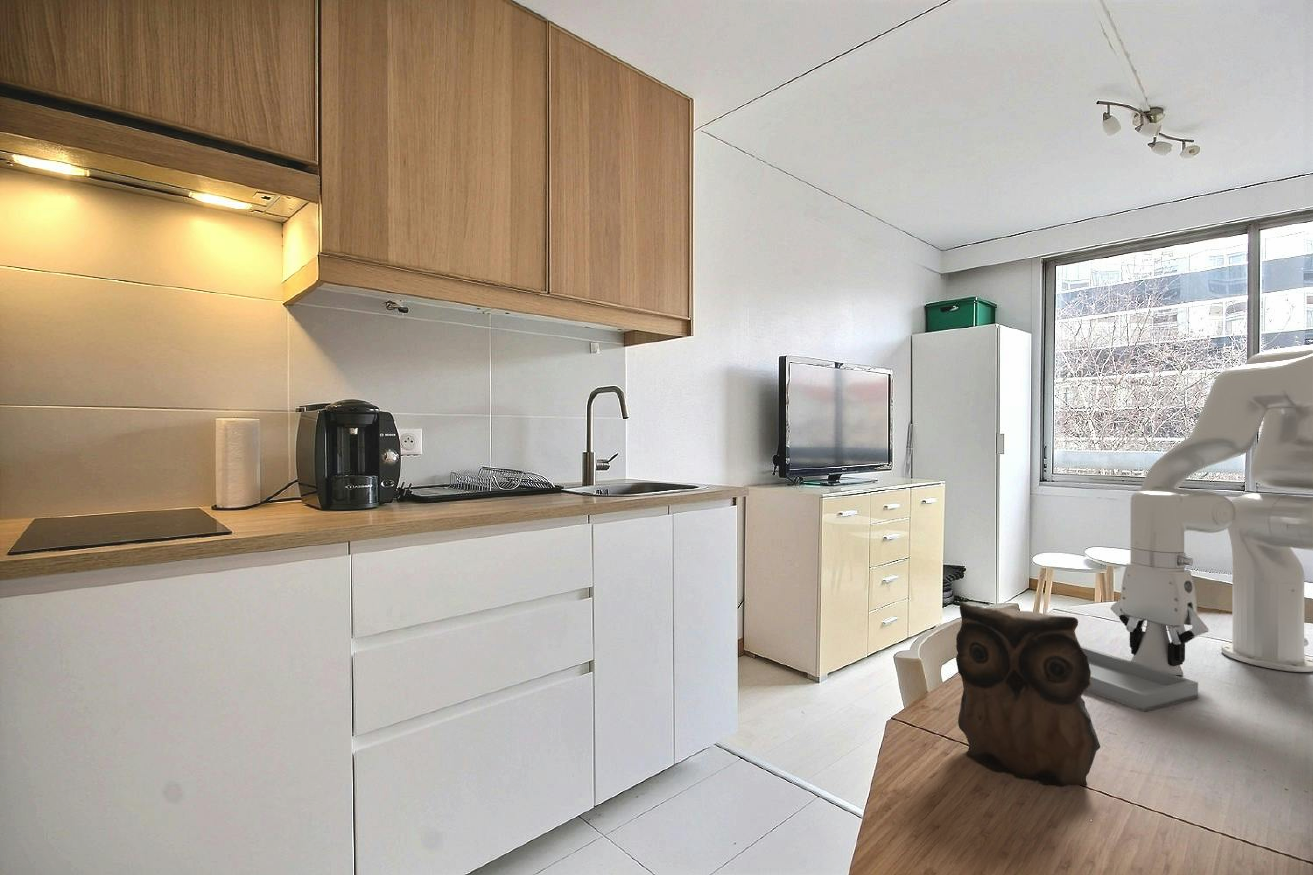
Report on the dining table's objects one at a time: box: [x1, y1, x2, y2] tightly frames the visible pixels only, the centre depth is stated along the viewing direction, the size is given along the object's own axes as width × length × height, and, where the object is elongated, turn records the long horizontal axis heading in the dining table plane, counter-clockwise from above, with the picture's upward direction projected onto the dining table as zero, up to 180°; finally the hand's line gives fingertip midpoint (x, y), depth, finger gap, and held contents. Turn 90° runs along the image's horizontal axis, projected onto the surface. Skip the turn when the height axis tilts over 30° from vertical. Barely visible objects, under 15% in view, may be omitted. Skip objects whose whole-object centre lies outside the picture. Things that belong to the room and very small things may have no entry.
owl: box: [955, 601, 1101, 787], centre depth 75 cm, size 13×13×20 cm
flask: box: [1130, 621, 1184, 676], centre depth 108 cm, size 7×7×10 cm
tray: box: [1080, 645, 1199, 713], centre depth 102 cm, size 14×20×2 cm
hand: (1156, 657), depth 108 cm, fingers closed on flask, 5 cm apart
